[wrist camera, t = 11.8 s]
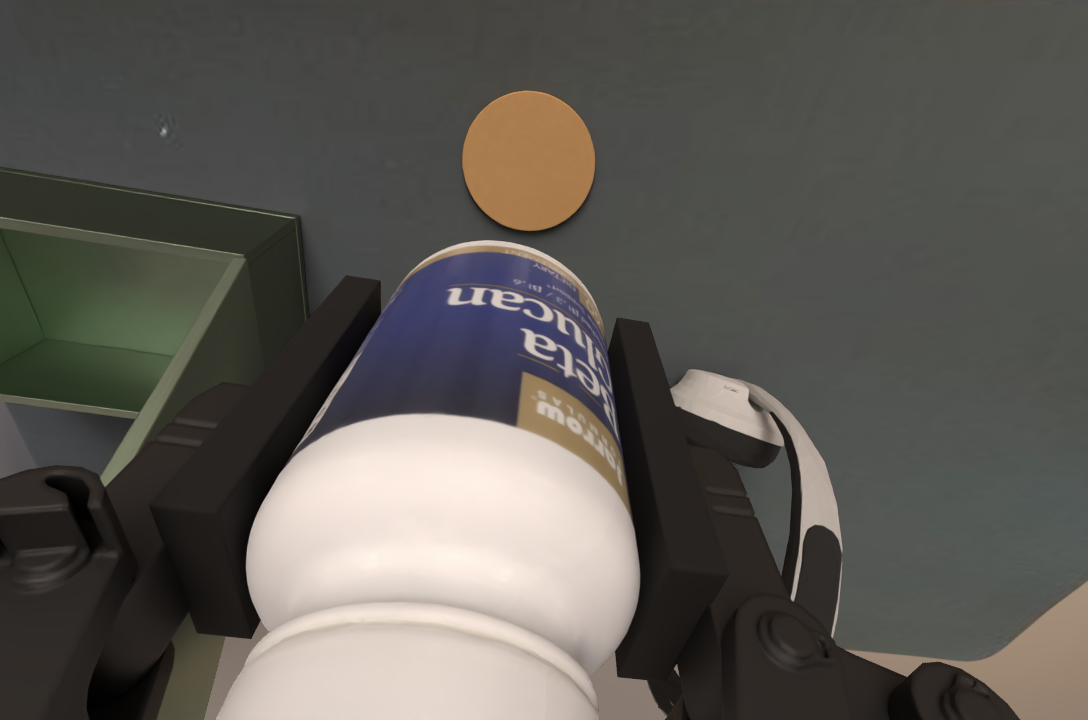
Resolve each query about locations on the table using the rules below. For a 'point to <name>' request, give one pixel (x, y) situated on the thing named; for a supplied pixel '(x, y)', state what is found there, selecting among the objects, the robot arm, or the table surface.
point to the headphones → (754, 441)
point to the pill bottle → (451, 512)
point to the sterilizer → (125, 286)
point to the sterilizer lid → (198, 365)
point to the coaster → (528, 160)
